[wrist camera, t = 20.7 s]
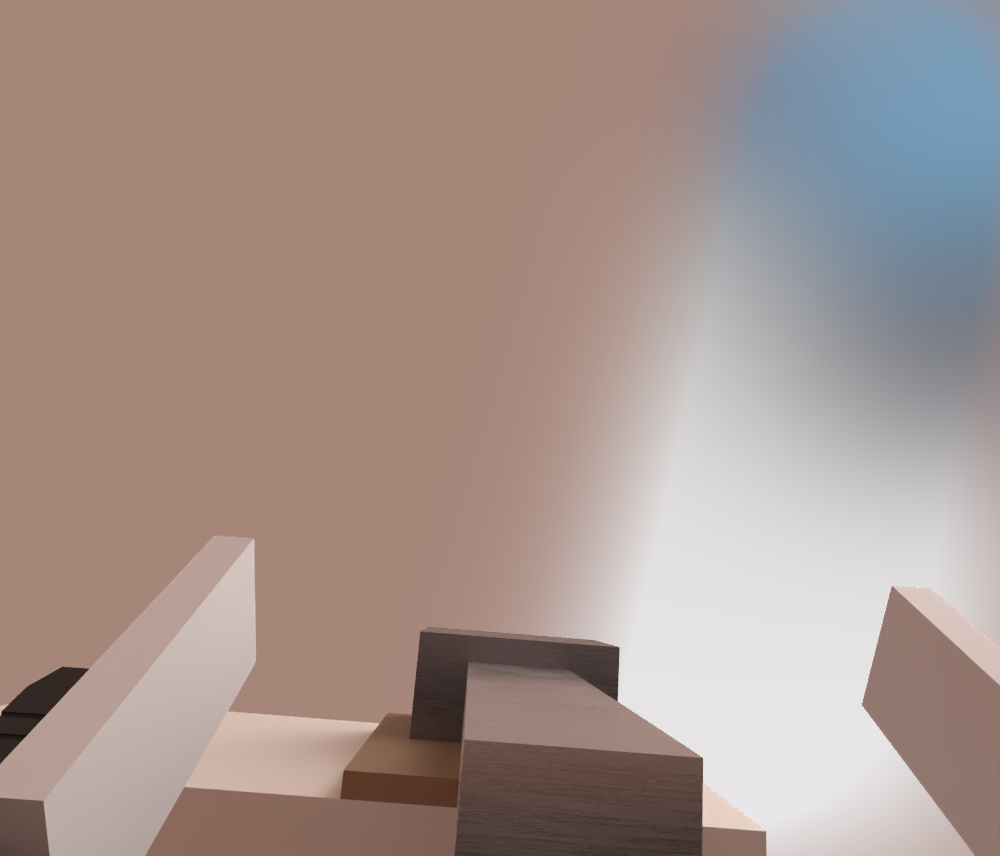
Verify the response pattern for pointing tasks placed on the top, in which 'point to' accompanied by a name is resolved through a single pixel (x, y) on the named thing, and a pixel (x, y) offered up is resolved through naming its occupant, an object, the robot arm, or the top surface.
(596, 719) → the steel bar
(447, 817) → the tall cream pillar block
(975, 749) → the robot arm
